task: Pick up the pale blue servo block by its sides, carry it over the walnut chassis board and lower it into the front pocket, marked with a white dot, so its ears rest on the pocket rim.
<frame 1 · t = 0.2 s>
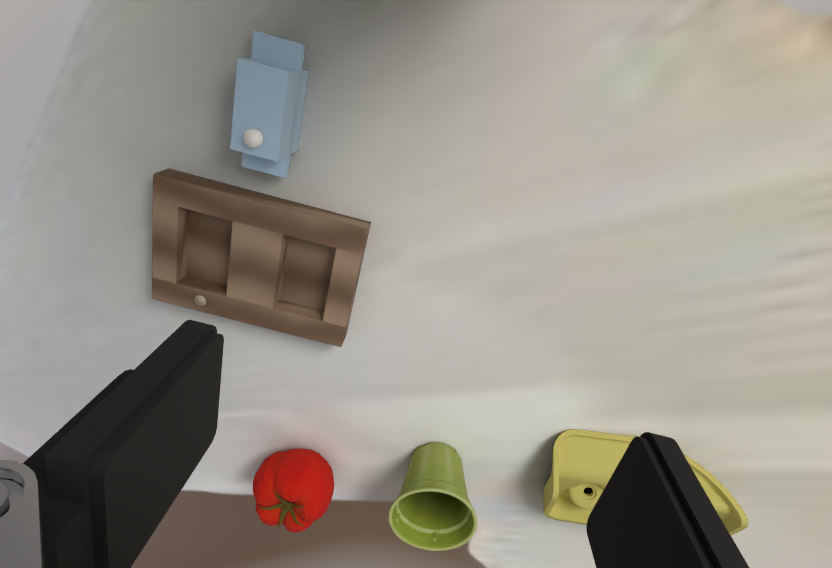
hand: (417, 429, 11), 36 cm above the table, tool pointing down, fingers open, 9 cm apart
tomato: (302, 462, 61), on the table
chassis: (262, 256, 49), on the table
plastic component: (623, 473, 58), on the table
servo: (281, 105, 43), on the table
plant pot: (436, 459, 59), on the table
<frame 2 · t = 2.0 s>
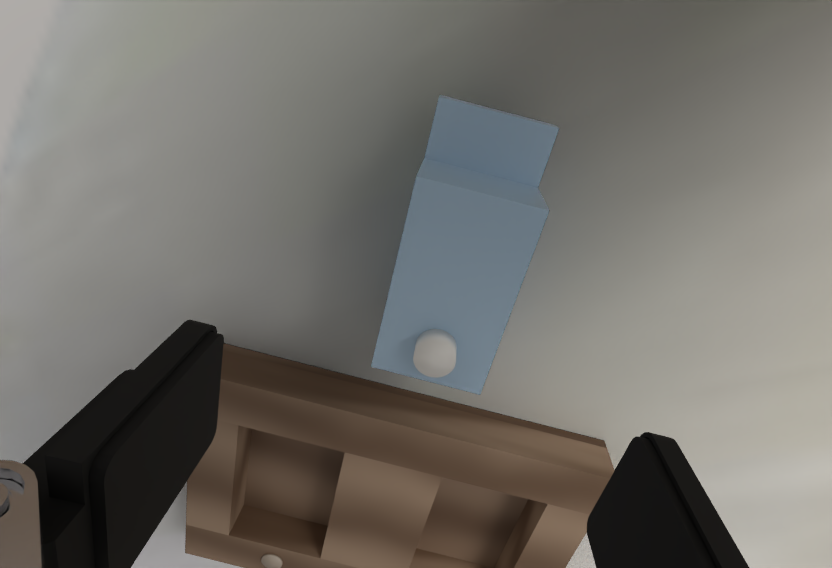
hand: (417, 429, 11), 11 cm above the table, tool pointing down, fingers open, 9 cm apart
chassis: (384, 481, 27), on the table
servo: (456, 237, 20), on the table
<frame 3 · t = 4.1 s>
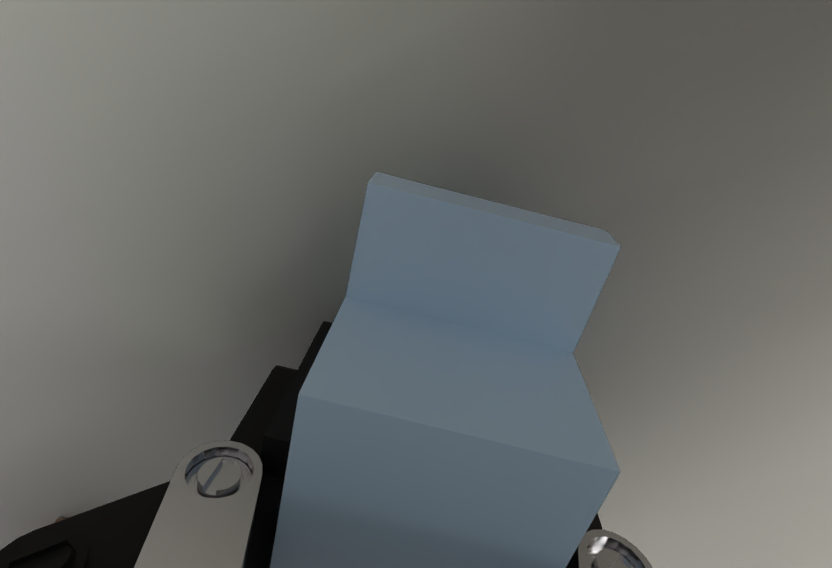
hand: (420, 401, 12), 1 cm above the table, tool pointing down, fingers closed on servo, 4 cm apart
servo: (422, 386, 12), on the table, touching gripper
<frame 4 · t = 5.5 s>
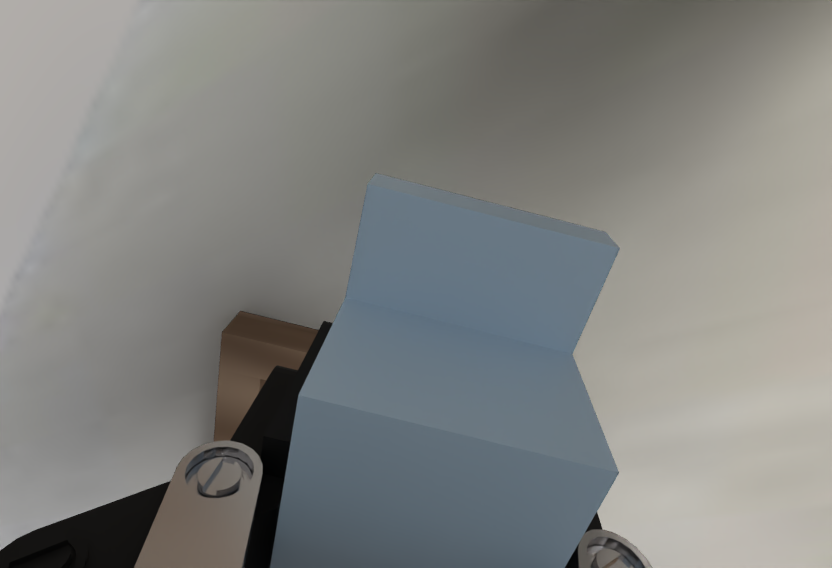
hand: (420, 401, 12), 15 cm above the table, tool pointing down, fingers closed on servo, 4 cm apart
chassis: (381, 433, 32), on the table
servo: (422, 386, 12), point 14 cm above the table, touching gripper
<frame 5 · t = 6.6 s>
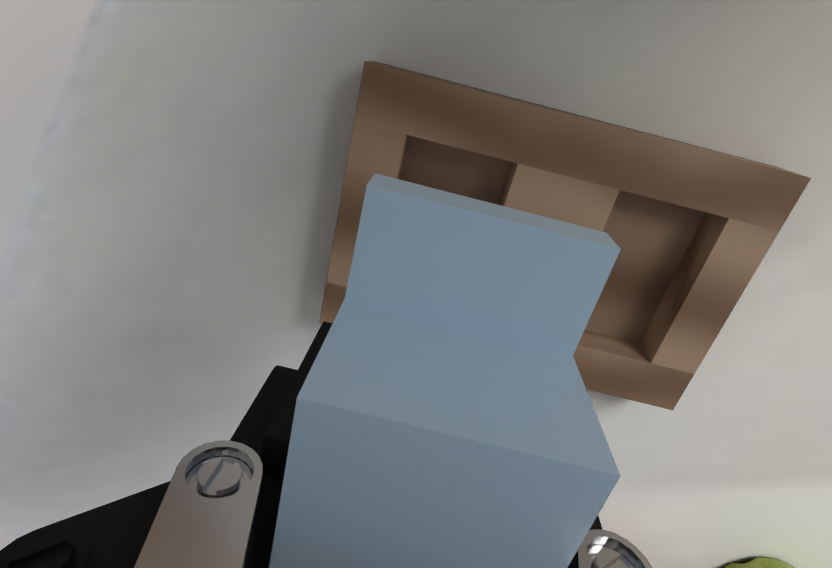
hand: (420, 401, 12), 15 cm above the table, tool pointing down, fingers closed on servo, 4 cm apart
chassis: (531, 241, 26), on the table
servo: (421, 387, 12), point 15 cm above the table, touching gripper
when the fingers open (3 cm above the table, at t = 9.5 s): servo drops 2 cm, resting on chassis.
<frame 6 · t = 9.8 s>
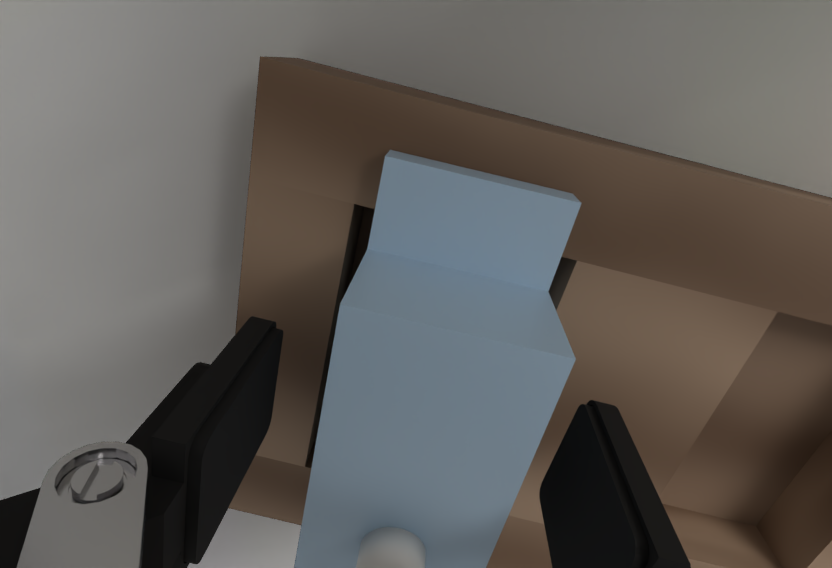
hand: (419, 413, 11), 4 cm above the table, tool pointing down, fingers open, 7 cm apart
chassis: (584, 368, 15), on the table
servo: (428, 338, 14), point 1 cm above the table, touching chassis
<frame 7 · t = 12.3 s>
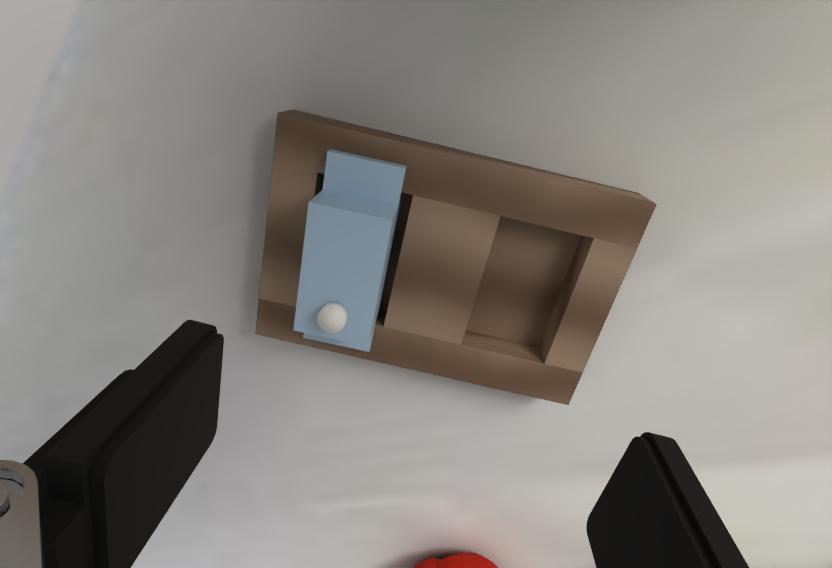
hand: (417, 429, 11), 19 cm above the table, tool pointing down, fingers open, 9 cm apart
chassis: (439, 259, 30), on the table
servo: (359, 243, 29), point 1 cm above the table, touching chassis
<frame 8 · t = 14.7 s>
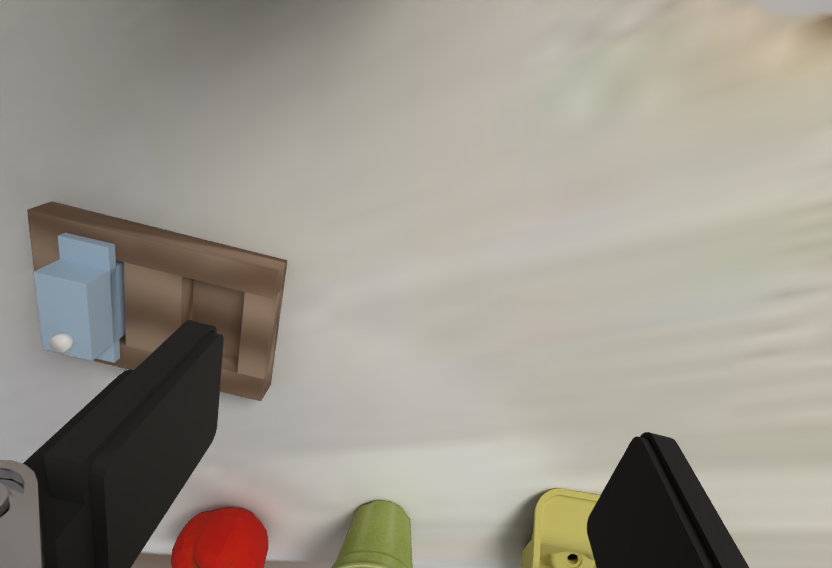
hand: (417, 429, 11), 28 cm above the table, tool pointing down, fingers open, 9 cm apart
tomato: (235, 520, 55), on the table
chassis: (168, 299, 43), on the table
plastic component: (613, 537, 51), on the table
servo: (110, 288, 42), point 1 cm above the table, touching chassis
plant pot: (382, 517, 53), on the table
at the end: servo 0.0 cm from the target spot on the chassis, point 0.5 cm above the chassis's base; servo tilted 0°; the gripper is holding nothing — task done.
